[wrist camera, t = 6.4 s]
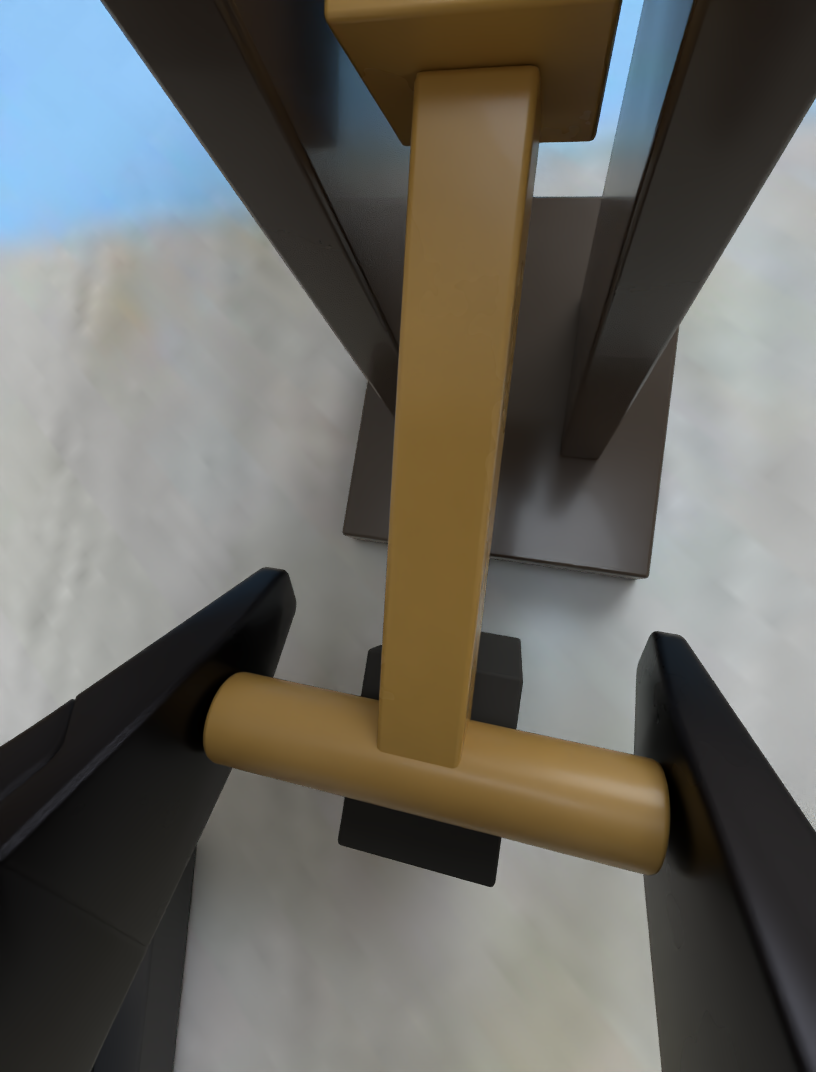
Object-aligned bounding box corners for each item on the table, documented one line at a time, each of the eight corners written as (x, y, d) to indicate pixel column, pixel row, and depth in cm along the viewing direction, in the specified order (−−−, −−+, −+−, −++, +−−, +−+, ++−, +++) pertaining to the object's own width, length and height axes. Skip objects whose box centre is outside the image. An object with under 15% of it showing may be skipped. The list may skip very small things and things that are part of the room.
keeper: (505, 749, 14) (494, 890, 7) (419, 730, 15) (335, 846, 8) (520, 638, 14) (523, 678, 8) (435, 623, 15) (367, 648, 8)
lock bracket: (638, 580, 14) (1652, 465, 1) (354, 538, 16) (-282, 326, 3) (681, 225, 15) (1593, -1816, 2) (406, 224, 16) (56, -932, 4)
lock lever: (631, 789, 8) (664, 950, 6) (267, 706, 9) (177, 811, 7) (882, -247, 5) (1205, -855, 2) (252, -144, 6) (68, -469, 4)
